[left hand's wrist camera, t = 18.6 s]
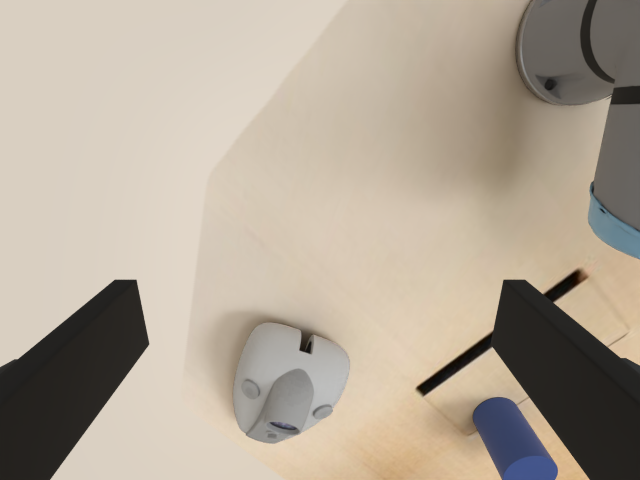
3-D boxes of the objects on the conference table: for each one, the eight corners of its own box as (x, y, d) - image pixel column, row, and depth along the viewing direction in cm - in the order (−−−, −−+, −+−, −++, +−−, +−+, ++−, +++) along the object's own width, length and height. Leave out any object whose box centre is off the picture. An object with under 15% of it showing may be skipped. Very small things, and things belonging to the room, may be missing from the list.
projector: (191, 343, 57) (149, 417, 43) (317, 288, 53) (316, 349, 40) (258, 435, 64) (241, 524, 50) (374, 391, 60) (390, 474, 46)
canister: (516, 429, 63) (555, 491, 53) (472, 433, 64) (501, 496, 53) (519, 395, 61) (560, 453, 50) (473, 399, 61) (504, 458, 51)
